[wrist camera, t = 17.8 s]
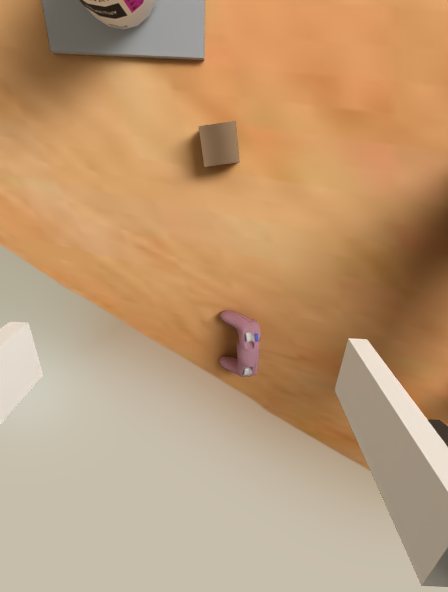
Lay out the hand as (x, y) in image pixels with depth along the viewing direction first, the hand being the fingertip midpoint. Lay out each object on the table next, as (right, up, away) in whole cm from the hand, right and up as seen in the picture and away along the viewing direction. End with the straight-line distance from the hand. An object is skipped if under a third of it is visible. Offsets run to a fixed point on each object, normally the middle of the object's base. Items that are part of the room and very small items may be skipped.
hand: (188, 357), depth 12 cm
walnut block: (+1, +20, +22) cm, 30 cm away
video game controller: (+4, -4, +34) cm, 34 cm away
